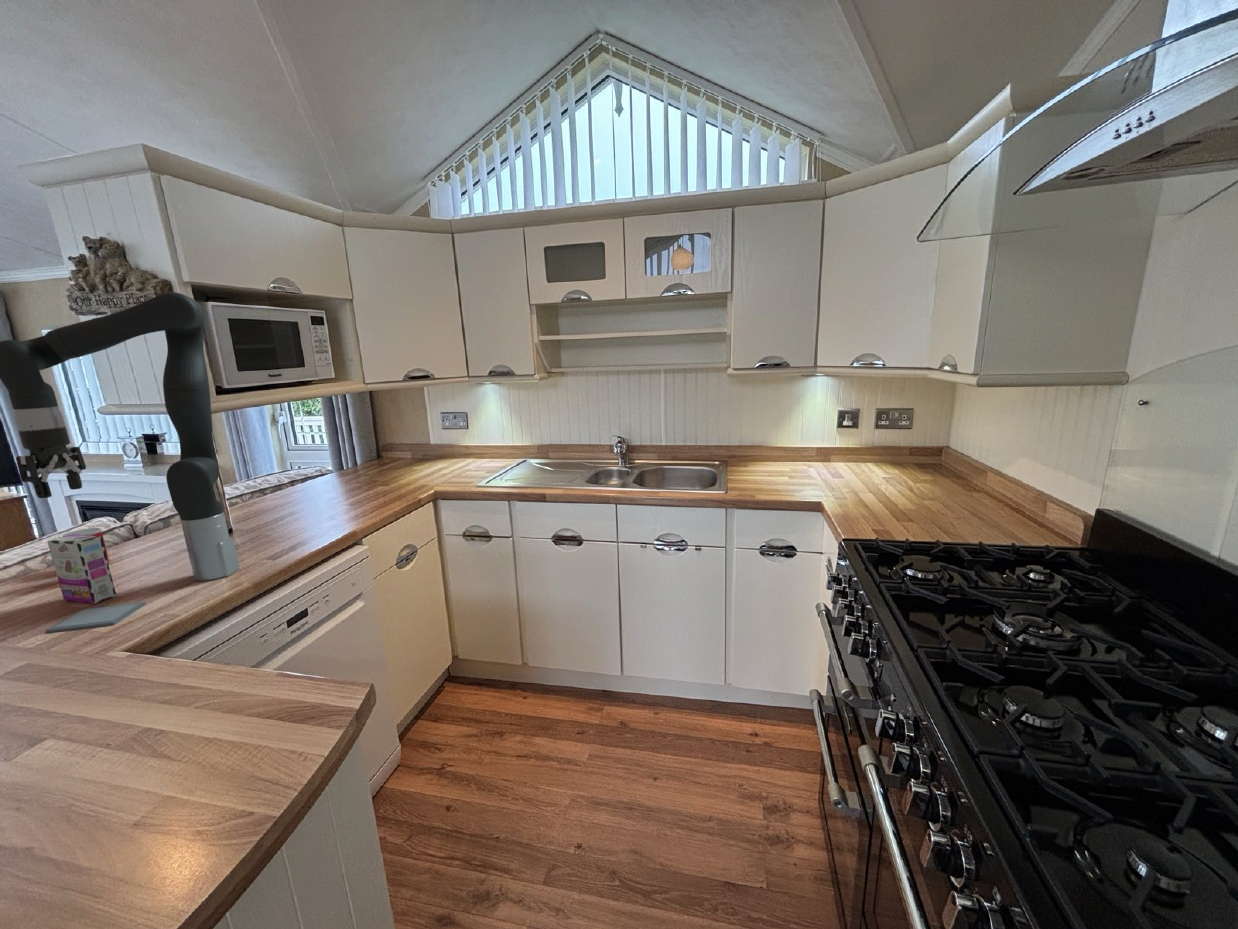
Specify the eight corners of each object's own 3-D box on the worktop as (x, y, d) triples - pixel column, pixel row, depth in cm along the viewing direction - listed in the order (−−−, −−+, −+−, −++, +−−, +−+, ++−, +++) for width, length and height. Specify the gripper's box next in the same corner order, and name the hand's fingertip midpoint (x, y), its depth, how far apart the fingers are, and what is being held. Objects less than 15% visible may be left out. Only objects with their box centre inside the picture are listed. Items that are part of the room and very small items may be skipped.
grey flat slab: (145, 604, 122) (145, 601, 122) (114, 624, 112) (113, 621, 112) (83, 611, 119) (82, 608, 119) (45, 633, 110) (44, 630, 110)
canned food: (82, 564, 150) (72, 530, 148) (116, 560, 153) (107, 526, 151) (65, 574, 143) (54, 538, 141) (101, 569, 146) (91, 533, 143)
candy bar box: (118, 595, 127) (102, 535, 124) (94, 605, 123) (77, 542, 119) (87, 592, 130) (71, 533, 127) (63, 601, 125) (44, 540, 122)
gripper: (32, 429, 111) (53, 499, 115) (85, 422, 125) (103, 484, 128) (-8, 432, 110) (14, 502, 113) (50, 424, 123) (68, 487, 127)
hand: (61, 493), depth 121 cm, fingers open, 8 cm apart
